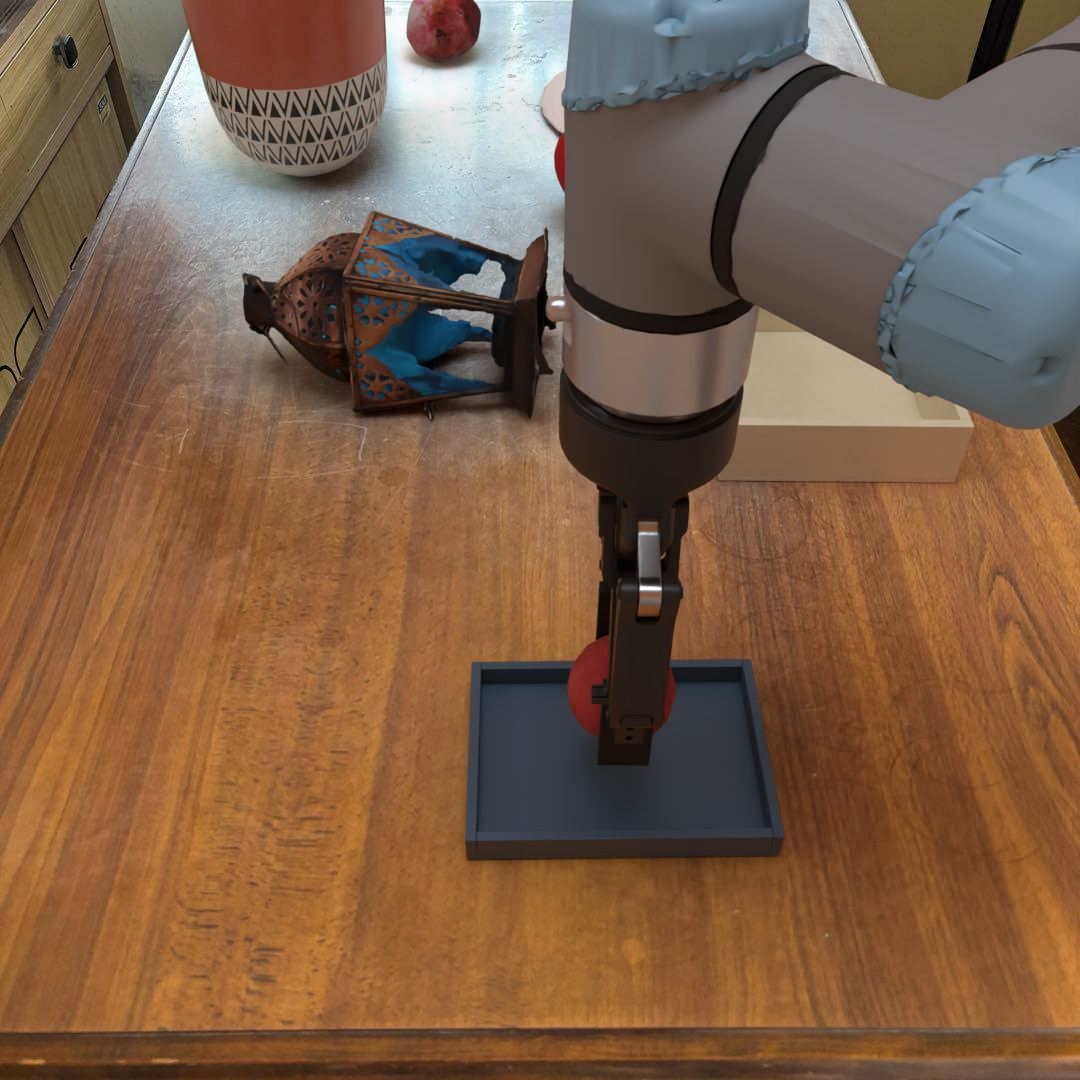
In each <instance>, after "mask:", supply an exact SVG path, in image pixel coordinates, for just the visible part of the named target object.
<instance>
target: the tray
mask: <svg viewBox="0 0 1080 1080" xmlns="http://www.w3.org/2000/svg"><path fill="white" fill-rule="evenodd" d="M574 661H575V660H523V661H522V660H521V661H519V660H518V661H517V660H516V661H515V660H513V661H510V660H509V661H471V666H470V668H471V669H470V695H469V721H468V722H469V724H468V748H467V749H468V750H467V751H468V752H467V778H466V779H467V780H466V804H465V805H466V806H465V807H466V808H465V833H464V843H465V853H466V860H467V861H481V860H483V861H484V860H485V861H486V860H556V859H557V860H559V859H560V860H561V859H564V860H565V859H567V860H569V859H638V858H639V859H640V858H643V859H645V858H646V859H647V858H715V857H719V858H720V857H724V858H726V857H778V856H780V853H781V849H782V846H783V844H784V840H785V837H786V836H785V830H784V825H783V820H782V814H781V810H780V803H779V799H778V794H777V793H778V792H777V788H776V783H775V777H774V772H773V767H772V762H771V757H770V751H769V746H768V741H767V737H766V730H765V725H764V719H763V716H762V715H763V714H762V711H761V710H762V709H761V704H760V701H759V694H758V689H757V684H756V677H755V673H754V672H755V671H754V669H753V662H752V659H751V658H742V659H741V658H715V659H714V658H712V659H710V658H709V659H705V658H703V659H670V667H671V671H672V674H673V677H674V681H675V686H676V695H675V699H674V703H673V706H672V710H671V713H670V715H669V718H668V720H667V721H666V722H665V723H664V724H663V726H662V728H660V729H659V730H658V731H657V732H656V733H655V734H653V736H652V744H651V751H650V759H649V766H620V765H598V758H597V751H598V738H597V737H596V736H594V735H593V734H591V733H590V732H588V731H587V730H585V729H584V728H583V727H582V726H581V724H580V723H579V722H578V720H577V719H576V717H575V716H574V715H573V713H572V711H571V707H570V702H569V698H568V692H567V684H568V680H569V676H570V671H571V668H572V665H573V663H574Z"/></svg>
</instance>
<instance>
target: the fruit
mask: <svg viewBox="0 0 1080 1080" xmlns="http://www.w3.org/2000/svg"><path fill="white" fill-rule="evenodd" d="M481 23H482V12H481V9H480V7H479V5H478V3H476V1H475V0H412V2H411V4H410V6H409V8H408V13H407V19H406V31H405V35H406V38H407V41H408V43H409V45H410V46H411V48H412V50H413V51H414V52H415V53H416V55H418V56H419V57H420V58H423V59H425V60H429V61H433V62H438V63H443V62H451V61H454V60H456V59H457V58H459V57H461V56H462V55H463V54H465V53H468V52H469V50H471V49H472V48H473V47H475V45H476V43H477V42H478V40H479V38H480V37H479V36H480V31H481Z"/></svg>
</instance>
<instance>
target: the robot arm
mask: <svg viewBox="0 0 1080 1080" xmlns="http://www.w3.org/2000/svg"><path fill="white" fill-rule="evenodd" d="M810 1H811V0H572V3H571V6H572V7H571V14H570V26H569V37H568V46H567V47H568V48H567V59H566V67H565V68H566V69H565V70H566V79H565V88H564V90H563V91H562V93H561V100H562V106H563V108H564V137H565V193H564V214H563V215H564V216H563V217H564V225H563V229H564V230H563V236H564V237H563V260H562V261H563V262H562V278H563V283H562V285H563V286H562V289H563V295H552V296H550V297H548V300H547V303H546V315H547V317H548V318H549V319H550V320H551V321H554V322H556V323H562V332H561V335H562V337H561V362H562V368H561V370H560V374H559V396H558V397H559V398H558V400H559V401H558V402H559V403H558V440H559V444H560V447H561V451H562V452H563V454H564V457H565V458H566V460H567V461H568V463H569V464H570V466H572V467H573V469H575V471H577V473H579V474H580V475H581V476H582V477H584V478H585V479H587V480H588V481H589V482H592V483H593V484H595V485H596V487H595V488H596V490H597V491H598V496H597V497H598V498H597V523H598V538H599V539H600V543H601V556H600V559H599V561H598V568H599V569H598V570H600V572H601V577H602V580H599V581H598V592H597V593H598V594H597V595H598V596H597V609H596V610H597V611H596V625H595V641H596V640H598V639H600V638H602V637H604V636H607V635H609V648H608V671H607V679H603V683H602V685H596V684H591V702H592V704H601V710H600V724H599V738H598V751H597V758H598V765H620V766H649V759H650V751H651V744H652V736H653V729H654V728H662V726H663V721H665V710H664V706H665V698H666V690H667V682H668V674H669V666H670V660H672V659H671V656H672V650H673V642H674V633H675V626H676V621H677V617H678V614H679V610H680V606H681V600H683V599H684V586H682V581H681V579H680V578H679V576H680V575H679V573H680V561H681V549H682V539H683V537H684V536H685V534H686V533H687V532H688V529H689V519H690V495H689V493H691V492H693V491H695V490H697V489H699V488H701V487H703V486H706V484H708V483H710V482H712V481H713V480H714V479H715V478H717V477H718V475H719V474H720V473H721V472H722V470H723V469H724V468H725V467H726V465H727V464H728V462H729V460H730V458H731V456H732V454H733V451H734V447H735V441H736V435H737V429H738V423H739V417H740V411H741V406H742V400H743V392H744V387H743V383H744V381H745V380H746V379H747V377H748V372H749V366H750V360H751V354H752V349H753V343H754V337H755V331H756V326H757V320H758V314H759V308H760V307H761V308H762V309H764V310H766V311H768V312H770V313H772V314H774V315H776V316H778V317H780V318H782V319H783V320H785V321H787V322H789V323H791V324H793V325H795V326H797V327H799V328H801V329H803V330H805V331H806V332H808V333H810V334H812V335H814V336H816V337H818V338H820V339H822V340H824V341H826V342H827V343H829V344H831V345H833V346H835V347H837V348H839V349H841V350H843V351H845V352H847V353H848V354H850V355H852V356H854V357H856V358H858V359H860V360H862V361H863V362H865V363H867V364H869V365H871V366H873V367H875V368H876V369H878V370H880V371H882V372H884V373H886V374H887V375H889V376H891V377H892V379H893V380H894V381H895V382H897V383H898V384H902V385H903V386H904V387H905V388H906V389H908V390H910V391H911V392H913V393H917V392H919V393H921V394H923V395H925V396H927V397H933V396H937V397H940V398H942V399H944V400H947V401H949V402H951V403H954V404H956V405H958V406H961V407H963V408H965V409H967V410H968V411H970V412H972V413H974V414H976V415H978V416H980V417H984V418H986V419H988V420H990V421H992V422H995V423H997V424H1000V425H1002V426H1004V427H1006V428H1010V429H1015V430H1018V431H1019V430H1025V431H1026V430H1039V429H1043V428H1046V427H1048V426H1051V425H1053V424H1055V423H1058V422H1059V421H1061V420H1063V419H1064V418H1066V417H1067V416H1069V415H1070V414H1071V413H1073V412H1074V411H1075V410H1076V409H1077V408H1078V407H1079V406H1080V15H1078V16H1077V17H1076V18H1075V19H1074V20H1073V21H1071V22H1070V23H1068V24H1066V25H1065V26H1063V27H1062V28H1060V29H1058V30H1056V31H1055V32H1053V33H1052V34H1050V35H1048V36H1046V37H1045V38H1043V39H1042V40H1039V41H1038V42H1036V43H1034V44H1033V45H1031V46H1030V47H1028V48H1026V49H1025V50H1023V51H1021V52H1019V53H1018V54H1016V55H1014V56H1013V57H1011V58H1009V59H1008V60H1005V61H1003V62H1001V64H999V65H997V66H995V67H994V68H992V69H990V70H988V71H986V72H985V73H983V74H981V75H979V76H978V77H976V78H974V79H972V80H970V81H969V82H967V83H965V84H964V85H962V86H959V87H958V88H956V89H954V90H953V91H951V92H949V93H947V94H945V95H944V96H942V97H941V98H939V99H930V98H926V97H922V96H919V95H916V94H912V93H909V92H908V91H907V92H906V91H904V90H901V89H898V88H894V87H891V86H889V85H886V84H882V83H879V82H876V81H874V80H871V79H868V78H864V77H863V76H859V75H857V74H855V73H851V72H848V71H846V70H843V69H841V68H840V67H838V66H836V65H835V64H831V63H828V62H826V61H823V60H820V59H817V58H815V57H814V56H812V55H810V54H809V53H807V52H806V51H807V49H808V47H809V46H810V45H809V39H810V34H811V28H810V27H809V18H810V17H809V16H810V5H811V4H810V3H811V2H810ZM663 556H664V557H663Z"/></svg>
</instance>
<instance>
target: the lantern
mask: <svg viewBox="0 0 1080 1080" xmlns="http://www.w3.org/2000/svg"><path fill="white" fill-rule="evenodd" d="M542 229H543V234H541V235H539V236H538V237H536V238H535V239H534V240H533V241H531V243H530V244H529V246H528V247H527V248H526V249H525V255H524V257H523V258H522V259H518V258H516V257H513V256H512V255H510V254H508V253H503V252H500V251H497V250H494V249H490V248H488V247H485V246H483V245H481V244H477V243H473V242H471V241H469V240H466V239H462V238H459V237H453V236H452V235H450V234H447V233H444V232H441V231H438V230H435V229H432V228H429V227H427V226H423V225H420V224H417V223H413V222H409V221H407V220H405V219H401V218H399V217H394V216H391V215H388V214H385V213H383V212H380V211H375V210H370V212H369V213H368V214H367V219H366V221H365V223H364V226H363V227H362V231H361V232H352V231H349V232H348V231H347V232H340V233H337V234H334V235H330V236H328V237H326V238H325V239H322V240H321V241H319V242H317V243H316V244H315V245H314V246H313V247H311V248H309V250H308V251H306V253H305V254H304V255H302V257H300V258H299V259H298V261H296V262H295V263H294V264H293V265H292V267H290V268H289V270H288V271H287V272H286V273H285V274H284V275H283V276H282V277H281V278H280V279H278V280H277V281H267V280H262V279H261V277H260V276H258V275H254V274H252V273H247V272H242V273H241V277H242V281H243V296H242V310H243V317H244V321H245V322H246V324H247V325H248V328H249V330H250V331H253V332H254V333H256V334H258V335H263V336H264V337H266V339H267V340H268V341H269V344H270V345H271V347H272V348H273V350H274V351H275V352H276V353H277V355H278V356H279V357H280V358H281V360H283V362H284V363H285V364H286V366H289V367H290V366H292V362H290V361H288V359H287V358H286V357H285V356H284V354H283V353H282V351H281V349H280V347H279V346H278V344H276V343H275V341H274V339H273V338H272V337H271V335H270V331H271V328H273V329H275V330H276V331H277V332H278V333H279V334H280V335H281V336H282V337H283V339H284V340H286V341H287V342H288V344H289V345H291V346H292V347H293V348H294V349H295V350H296V351H297V352H298V353H299V355H301V356H302V357H303V358H304V360H306V361H307V362H308V363H309V364H310V365H311V366H312V367H313V368H314V369H316V370H317V371H319V372H320V373H322V374H323V375H325V376H327V377H329V378H331V379H333V380H335V381H339V382H341V383H350V388H351V389H350V390H351V408H352V412H353V413H354V414H363V413H369V412H374V411H382V410H389V409H398V408H404V407H406V406H409V405H418V404H421V403H422V404H424V406H423V410H424V411H427V415H428V419H429V420H430V421H433V420H434V416H435V411H434V408H433V405H434V404H435V403H439V402H441V401H447V400H455V399H458V398H464V397H472V396H473V397H474V396H480V395H484V394H496V393H508V394H510V395H511V397H512V398H513V399H514V400H515V401H516V402H517V403H518V404H519V406H521V408H522V410H523V412H524V413H525V414H526V416H527V417H528V419H529V420H531V419H532V417H533V413H534V407H535V400H536V394H537V388H538V387H537V386H538V382H539V380H540V376H544V375H549V376H554V374H555V371H554V370H553V368H551V367H550V365H549V363H548V360H547V359H546V357H545V355H544V352H543V351H544V341H543V336H544V332H545V329H546V327H548V330H549V331H553V330H556V329H557V322H554V321H551V320H550V319H549V318H548V317H547V315H546V303H547V300H548V299H549V298H550V297H549V295H548V291H547V281H548V275H549V272H548V268H549V245H550V242H549V229H548V226H546V225H544V226H542ZM488 260H489V261H490V262H495V263H498V264H499V265H500V270H501V272H502V273H503V274H504V277H505V278H504V279H505V280H504V281H503V284H502V286H501V287H500V292H499V296H498V297H493V296H488V295H484V294H477V293H476V292H472V291H466V290H464V289H461V290H456V289H455V288H453V287H451V286H452V285H453V284H454V283H457V282H458V281H459V279H460V278H461V277H462V276H464V275H475V276H478V274H480V272H481V270H482V267H483V265H485V263H486V261H488ZM436 310H440V311H451V310H456V311H468V312H473V313H474V312H483V313H486V314H488V315H489V314H490V315H493V319H492V323H491V326H490V327H491V329H490V330H491V331H490V330H489V329H488V328H486V327H483V326H476V325H475V326H474V325H471V324H472V322H471V321H468V320H464V319H461V318H460V319H458V320H450V319H449V318H448V317H447V316H446V315H441V314H440V313H433V312H434V311H436ZM466 342H467V343H469V342H470V343H490V353H491V357H492V359H493V360H494V364H495V365H496V366H498V367H499V368H503V378H502V382H498V383H493V382H486V381H485V380H480V379H476V378H474V379H468V378H463V377H458V376H456V375H451V374H449V373H447V372H445V371H444V370H442V371H441V370H440V371H435V370H432V369H430V367H426V366H423V365H421V364H422V363H425V362H429V361H431V360H433V359H436V358H438V357H440V356H442V355H444V354H445V353H447V352H449V351H450V350H453V349H454V348H455V347H457V346H459V345H460V346H461V345H462V344H464V343H466Z"/></svg>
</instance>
